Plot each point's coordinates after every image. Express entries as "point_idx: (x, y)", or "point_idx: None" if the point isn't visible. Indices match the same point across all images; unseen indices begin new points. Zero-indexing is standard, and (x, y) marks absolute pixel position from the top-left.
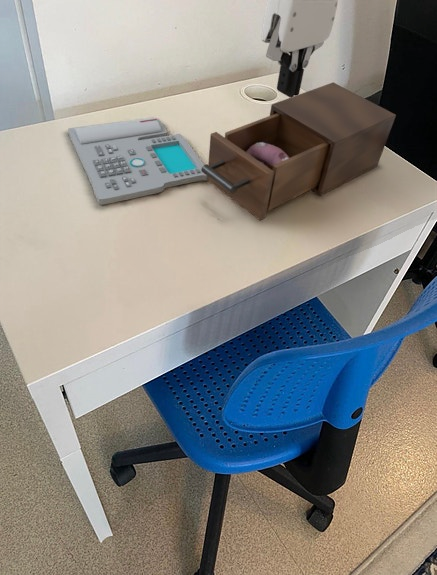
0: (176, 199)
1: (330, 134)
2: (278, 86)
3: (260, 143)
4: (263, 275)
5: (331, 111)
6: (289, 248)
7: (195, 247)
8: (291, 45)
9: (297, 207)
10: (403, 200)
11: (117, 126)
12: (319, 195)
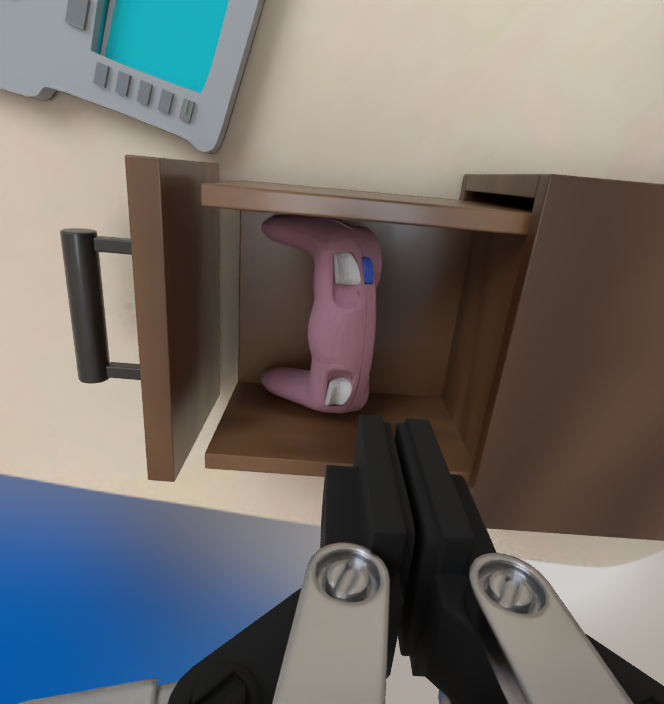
0: (71, 159)
1: (502, 491)
2: (360, 432)
3: (350, 266)
4: (101, 488)
5: None
6: (206, 474)
7: (15, 345)
8: None
9: None
10: (560, 535)
11: None
12: None
